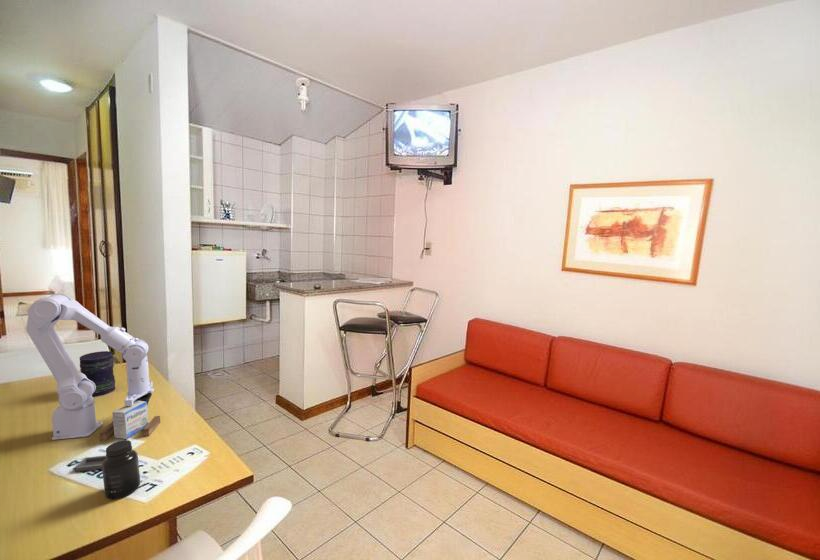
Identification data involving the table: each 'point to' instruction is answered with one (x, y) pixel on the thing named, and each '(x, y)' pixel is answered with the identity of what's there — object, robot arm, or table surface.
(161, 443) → the table surface
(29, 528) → the table surface
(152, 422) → the lane wall right
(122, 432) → the medicine box
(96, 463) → the dark grey flat tray
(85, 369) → the storage jar
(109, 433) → the lane wall left
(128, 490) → the supplement bottle
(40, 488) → the table surface
